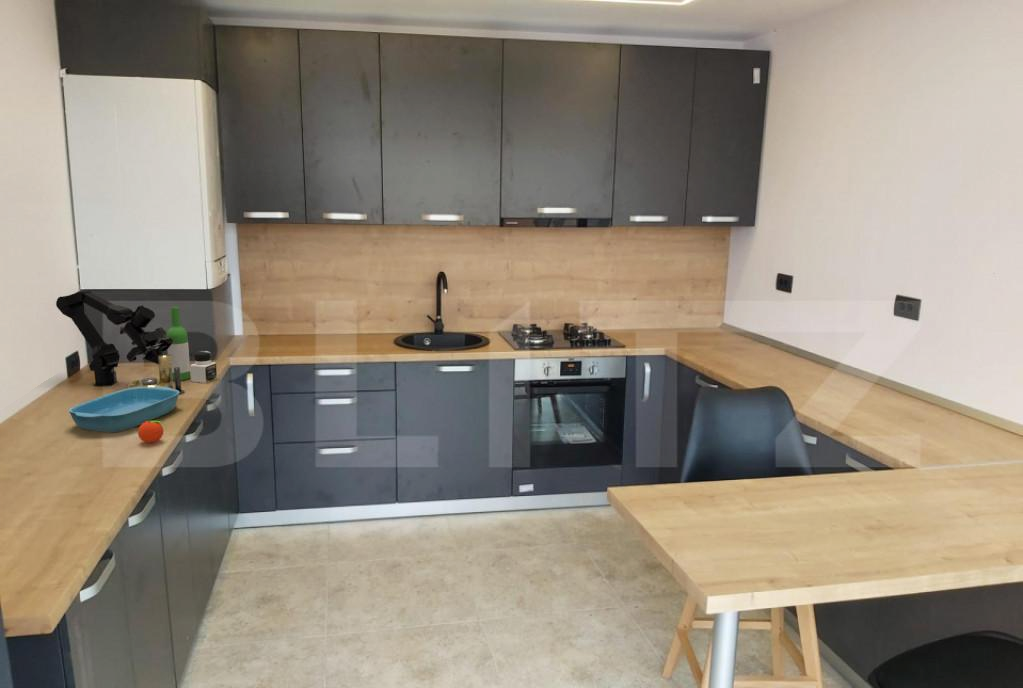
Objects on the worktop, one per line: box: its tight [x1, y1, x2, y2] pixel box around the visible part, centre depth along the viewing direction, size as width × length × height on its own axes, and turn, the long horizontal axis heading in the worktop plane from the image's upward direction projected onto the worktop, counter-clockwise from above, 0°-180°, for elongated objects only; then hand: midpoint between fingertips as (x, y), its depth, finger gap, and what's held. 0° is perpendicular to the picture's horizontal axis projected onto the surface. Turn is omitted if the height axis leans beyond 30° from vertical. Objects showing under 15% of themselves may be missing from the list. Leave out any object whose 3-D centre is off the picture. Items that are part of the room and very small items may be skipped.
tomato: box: [137, 420, 168, 444], centre depth 211 cm, size 8×7×7 cm
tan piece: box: [127, 353, 174, 388], centre depth 256 cm, size 14×15×12 cm
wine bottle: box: [166, 306, 191, 382], centre depth 278 cm, size 8×8×30 cm
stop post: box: [174, 367, 185, 395], centre depth 261 cm, size 4×4×10 cm
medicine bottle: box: [190, 350, 218, 384], centre depth 279 cm, size 7×7×12 cm
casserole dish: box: [68, 387, 180, 433], centre depth 232 cm, size 37×22×7 cm, turn 169°
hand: (164, 365), depth 262 cm, fingers closed, pressing on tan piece
